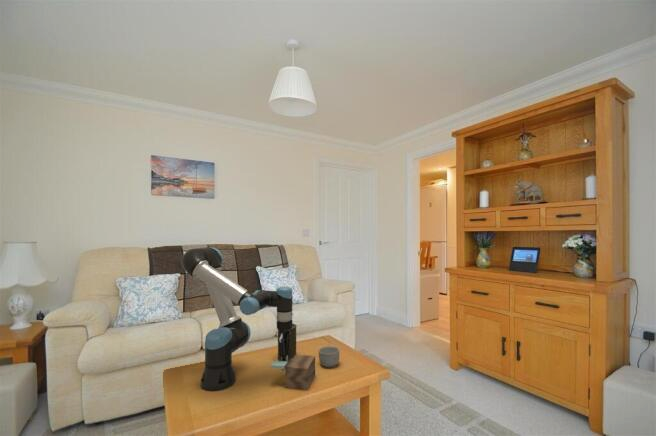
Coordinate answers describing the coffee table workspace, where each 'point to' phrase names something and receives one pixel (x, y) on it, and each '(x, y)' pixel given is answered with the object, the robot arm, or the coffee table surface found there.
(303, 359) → the block
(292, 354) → the canister
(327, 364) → the teacup
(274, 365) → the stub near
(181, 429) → the coffee table surface
